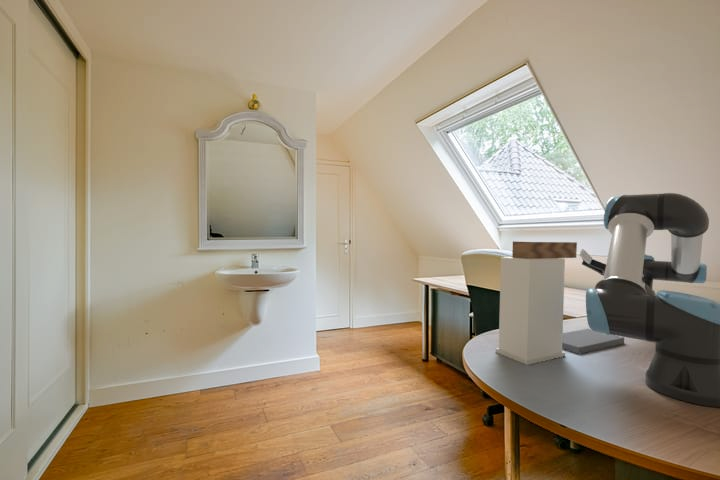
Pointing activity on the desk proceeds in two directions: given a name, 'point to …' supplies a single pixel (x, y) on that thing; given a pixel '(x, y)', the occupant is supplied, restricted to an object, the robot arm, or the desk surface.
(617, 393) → the desk surface
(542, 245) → the walnut bar
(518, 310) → the stand
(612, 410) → the desk surface
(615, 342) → the felt mat
